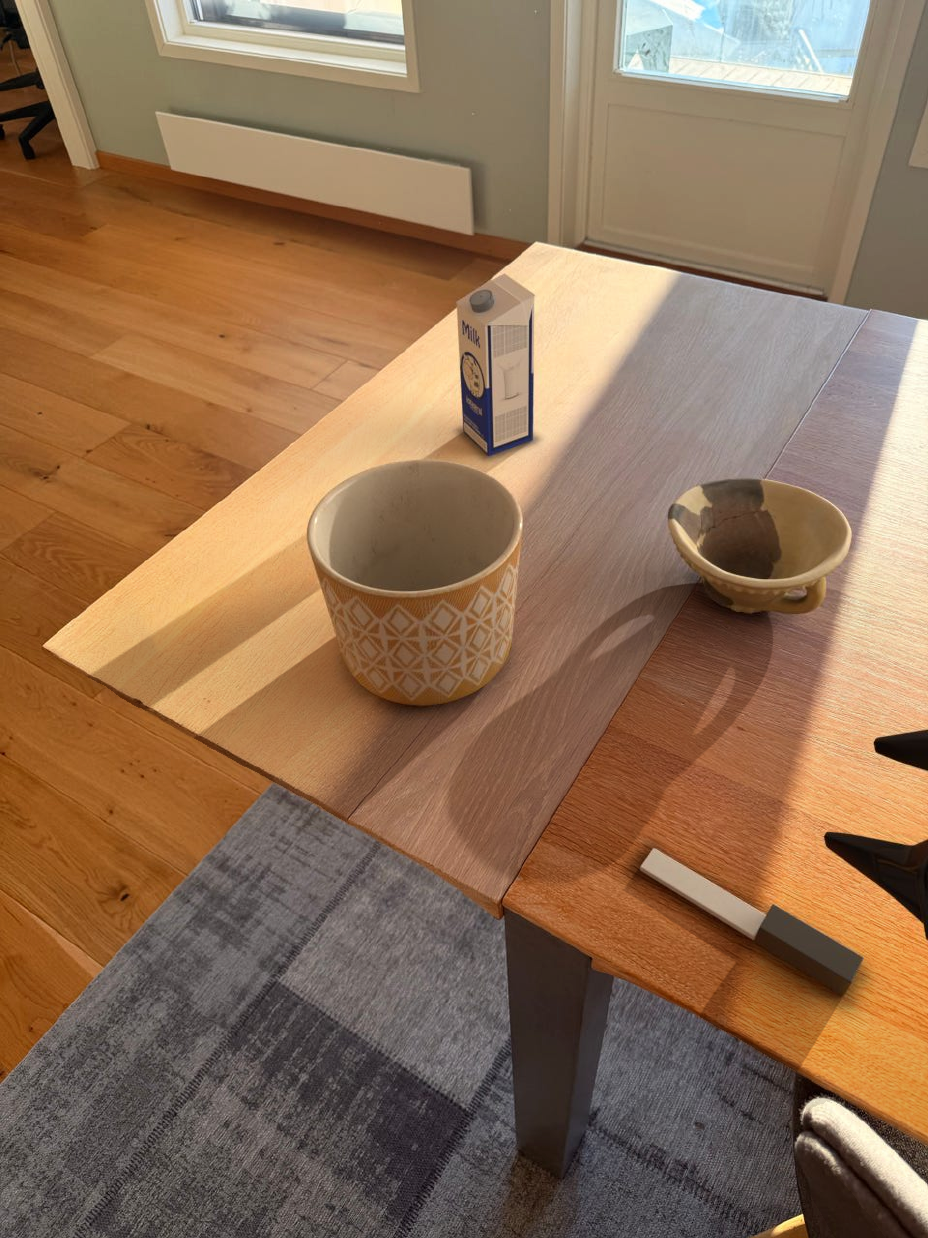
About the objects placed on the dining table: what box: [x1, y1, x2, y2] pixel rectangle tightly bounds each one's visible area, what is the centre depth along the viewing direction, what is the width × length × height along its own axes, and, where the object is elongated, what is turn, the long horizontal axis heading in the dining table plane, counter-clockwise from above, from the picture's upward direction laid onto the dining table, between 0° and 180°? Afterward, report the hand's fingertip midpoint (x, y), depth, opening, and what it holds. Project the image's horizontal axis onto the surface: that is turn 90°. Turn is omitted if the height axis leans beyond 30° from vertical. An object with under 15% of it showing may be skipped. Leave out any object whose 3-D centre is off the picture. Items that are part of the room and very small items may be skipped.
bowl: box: [667, 477, 853, 615], centre depth 93 cm, size 18×18×10 cm
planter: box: [306, 459, 524, 707], centre depth 87 cm, size 19×19×16 cm
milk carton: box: [455, 273, 536, 457], centre depth 112 cm, size 7×7×20 cm
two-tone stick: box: [639, 847, 865, 997], centre depth 70 cm, size 17×2×2 cm, turn 52°
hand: (851, 790), depth 59 cm, fingers open, 9 cm apart
